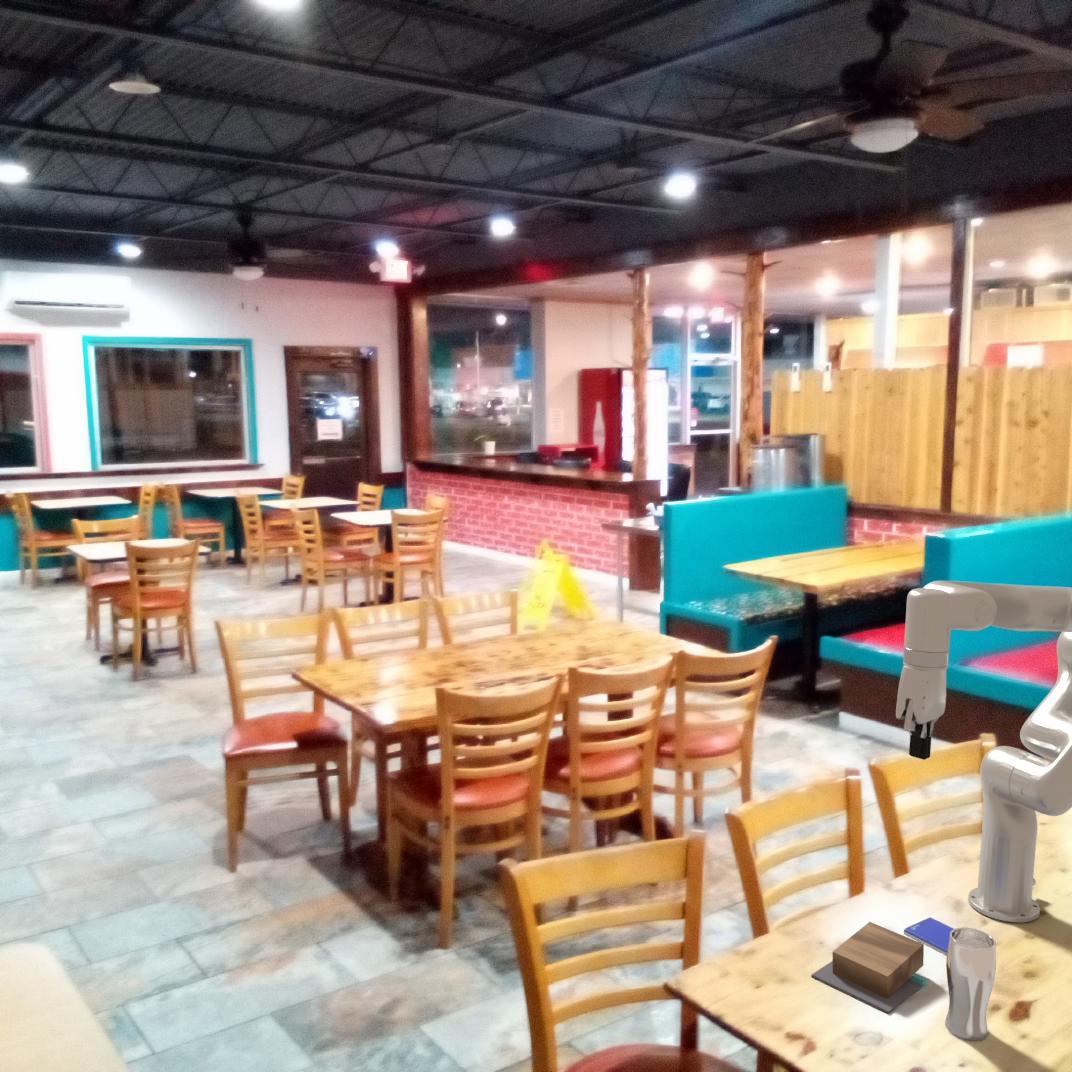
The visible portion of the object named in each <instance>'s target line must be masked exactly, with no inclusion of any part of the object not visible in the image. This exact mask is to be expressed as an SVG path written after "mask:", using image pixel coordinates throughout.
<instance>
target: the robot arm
mask: <svg viewBox="0 0 1072 1072" xmlns="http://www.w3.org/2000/svg"><path fill="white" fill-rule="evenodd" d="M905 609H906V611H905V624H904V625H905V627H904V639H903V640H904V641H903V643H904V644H903V658H902V659H903V661H902V664H903V666H902V669H901V672H900V677H899V678H900V679H899V682H898V689H897V698H896V707H895V717H896V719H898V720H904V725H903V729H904V730H905V731H908V734H909V736H910V737H909V748H908V749H909V750H908V751H909V752H908V755H909V756H910V757H913V758H917V759H920V760H924V761H926V760H927V759H929V758H930V757H931V750H932V749H931V747H932V736H933V733H934V727H935V723H936V722H937V721H938V720H939V718H940V717H941V716H943V715H944V713H945V710H946V704H947V670H948V669H949V658H950V657H949V655H950V639H951V631H952V630H961V631H970V632H971V631H972V632H973V631H981V630H983V629H986V628H988V627H989V626H992V627H996V628H999V629H1000V628H1001V629H1006V630H1012V631H1017V632H1060V634H1059V636H1058V639H1057V641H1056V655H1057V678H1056V682H1055V684H1054V685H1053V686H1052V687H1051V690H1050V691H1049V692H1048V694H1046V696H1045V697H1044V698H1043V699H1042V701H1041V702H1040V703H1039V704H1038V705H1037V707H1035V709H1034V710H1033V711H1032V713H1031V714H1030V715H1029V716H1028V717H1027V719H1026V720H1025V722H1024V723H1023V725H1022V726H1021V728H1020V731H1019V737H1020V741H1021V743H1022V745H1023V746H1024V747H1025V748H1027V750H1028V751H1030V752H1028V751H1026V750H1024V749H1021V748H1017V747H1013V746H1009V745H999V746H995V747H993V748H991V749H990V750H988V751H987V752H986V753H985V754H984V756H983V758H982V760H981V764H980V769H979V771H980V772H979V773H980V774H979V775H980V782H981V783H980V784H981V790H982V797H983V798H982V801H983V802H982V803H983V809H982V810H983V811H982V825H981V836H980V837H981V838H980V851H979V863H978V864H979V865H978V879H977V880H978V881H977V882H978V883H977V887H975V888H973V889H972V890H971V889H970V891H969V893H968V897H967V898H968V899H967V900H968V903H969V905H970V906H971V907H972V908H973V909H974V910H976V911H977V912H979V913H980V914H982V915H984V916H986V917H989V918H992V919H995V920H999V921H1003V922H1009V923H1029V922H1033V921H1035V920H1036V919H1038V918H1039V917H1040V914H1041V912H1040V911H1041V908H1040V906H1039V903H1037V901H1036V900H1035V899H1033V889H1034V888H1033V887H1035V885H1036V884H1037V883H1036V882H1037V881H1036V879H1035V878H1034V875H1035V874H1034V872H1035V863H1036V862H1035V861H1036V848H1037V837H1038V818H1037V813H1036V812H1038V813H1040V814H1042V815H1045V816H1050V817H1057V816H1062V815H1064V814H1066V813H1067V812H1068V811H1069V810H1070V809H1072V587H1069V586H1067V587H1066V586H1049V585H1044V586H1043V585H1028V584H1027V585H1023V584H1009V583H989V582H977V581H976V582H975V581H963V580H961V581H960V580H942V579H941V580H934V581H931V582H928V583H927V584H926V585H924V586H923V587H917V588H913V589H911V590H910V591H909V592H908V594H907V596H906V608H905ZM1031 752H1032V753H1031ZM1033 753H1034V754H1033ZM1045 758H1046V759H1045Z"/></svg>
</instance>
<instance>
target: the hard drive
mask: <svg viewBox="0 0 1072 1072" xmlns="http://www.w3.org/2000/svg"><path fill="white" fill-rule="evenodd" d="M953 929H955V928H953V927H951V926H949V925H947V924H946V923H943V922H941V921H939V920H937V919H935V918H933V917H927V918H925V919H923V920H920V921H919V922H917V923H914V924H912V925H909V926H907V927H905V928H904V929H903V935H904V936H906V937H908V938H910V939H912V940H915V941H917V942H920V943H922V944H924V945H925V946H926V947H929V948H931V949H933V950H935V951H937V952H938V953H941V954H943V955H945V956H947V949H948V943H949V937H950V932H951V931H952V930H953Z"/></svg>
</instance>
